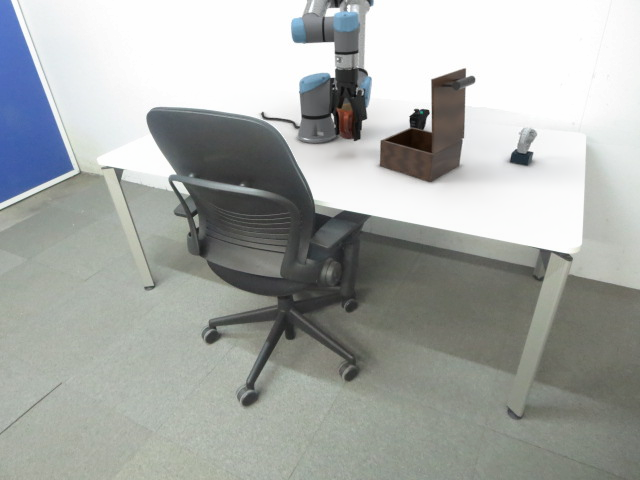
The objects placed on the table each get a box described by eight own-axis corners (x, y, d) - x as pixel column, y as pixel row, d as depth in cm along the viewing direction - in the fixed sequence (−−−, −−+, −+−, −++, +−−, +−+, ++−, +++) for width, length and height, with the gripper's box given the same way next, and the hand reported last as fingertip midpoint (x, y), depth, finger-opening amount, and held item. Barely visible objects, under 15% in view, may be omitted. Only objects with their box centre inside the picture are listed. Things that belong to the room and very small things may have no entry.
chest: (379, 166, 141) (380, 140, 136) (409, 151, 150) (411, 127, 146) (430, 182, 129) (432, 154, 124) (459, 165, 138) (462, 139, 133)
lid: (431, 79, 115) (451, 79, 110) (463, 68, 124) (483, 67, 120) (431, 153, 124) (450, 155, 120) (462, 137, 134) (480, 139, 129)
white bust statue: (533, 159, 140) (541, 126, 134) (525, 167, 134) (533, 133, 129) (515, 155, 143) (522, 123, 137) (507, 163, 138) (514, 130, 132)
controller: (406, 136, 163) (408, 110, 158) (419, 127, 172) (421, 102, 166) (416, 138, 161) (418, 112, 156) (429, 128, 170) (432, 103, 164)
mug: (339, 132, 152) (338, 103, 146) (364, 132, 150) (364, 103, 144) (333, 144, 142) (332, 113, 137) (359, 145, 140) (359, 114, 135)
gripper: (315, 65, 138) (319, 133, 151) (363, 73, 125) (363, 147, 138) (331, 61, 142) (334, 128, 155) (380, 69, 130) (378, 140, 142)
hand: (347, 137), depth 146 cm, fingers closed on mug, 8 cm apart
